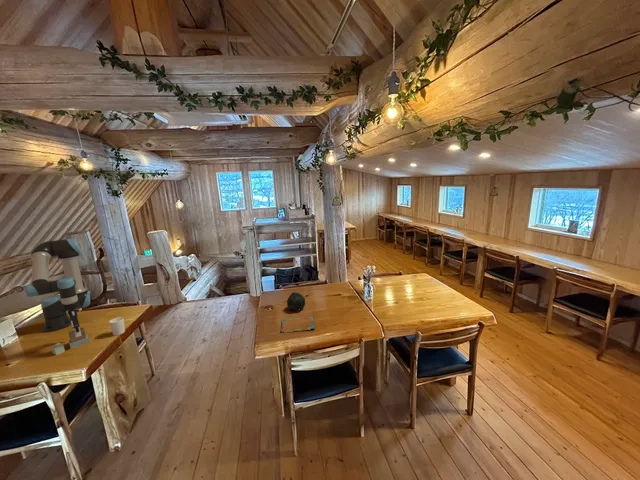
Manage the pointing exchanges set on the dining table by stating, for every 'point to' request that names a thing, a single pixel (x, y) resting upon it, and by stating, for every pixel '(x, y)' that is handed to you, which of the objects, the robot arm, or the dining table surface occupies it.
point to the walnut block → (73, 337)
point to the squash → (296, 301)
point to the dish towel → (299, 328)
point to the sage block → (57, 349)
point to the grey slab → (79, 342)
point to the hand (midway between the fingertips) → (77, 332)
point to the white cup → (117, 325)
